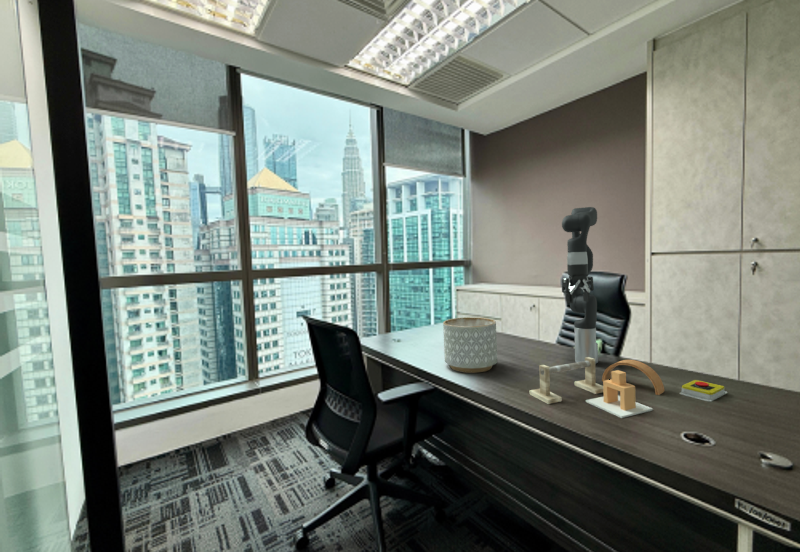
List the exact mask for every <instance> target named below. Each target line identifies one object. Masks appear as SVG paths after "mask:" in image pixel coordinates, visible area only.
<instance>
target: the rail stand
mask: <svg viewBox="0 0 800 552" xmlns="http://www.w3.org/2000/svg"><path fill="white" fill-rule="evenodd" d="M538 367H539V368H538V369H539V388H536V389H531V390H530V389H529V395H530V396H532V397H534V398H536V399H538V400H539V401H542V402H543V403H546V404H547V405H551V404H555V403H559V402H562V398H563V397H562V396H560V395H558V394H556V393H553V392H552V391H551V381H550V378H551V376H550V375H551V374H556V373H557V374H558V373H563V372H567V371H572V370H579V369H584V372H585V373H584V378H585V379H581V380H575V381H574V386H575V387H577V388H579V389H583V390H585V391H587V392H590V393H591V394H594V395H595V394H596V395H597V394H602V393H603V385H602V384H599V383H596V381H597V380H596V379H597V378H596V364H595V359H594V358H590V357H586V358H585V361H582V362H571V363H565V364H559V365H553V366H549V365H545V364H541V365H540V364H539V365H538Z"/></svg>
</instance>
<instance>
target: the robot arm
mask: <svg viewBox="0 0 800 552" xmlns="http://www.w3.org/2000/svg"><path fill="white" fill-rule="evenodd" d="M597 222H598V211H597V209H596V208H595V207H594V206H588V207H587V206H586V207H575V208H573V209H572V210H571V214H569V215H566V216H564V217H563V219H562V222H561V227H562V230H563V231H564V232H566V233H571V238H569V239H567V244H566V245H567V246H566V247H567V256H566V259H567V264H566V265H567V266H566V267H567V270H566V272H567V275H568V278H567V277H564V278H562V279H561V282H562V283H561V285H562V286H561V293H564V294H566V302H567V304H569V306H570V307H569V308H570V310H571V312H573V313H576V314H584V318H582V319H581V318H580V319H577V320H575V321H574V323H573V327H574V328H573V329H574V360H575V362H574V363H576V362H582V361H585V358H586V357H590V358H594V359H595V365H596V364H597V363H599V344H598V342H597V320H598V319H597V313H598V302H597V297H596V296H595V295H593V294H590V293H591V292H592V291H594V289H595V288H594V277H593V276H589V275H590V273H591V271H592V270H593V267H594V254H593V250H592V249H591V248H590V247H589V245H588V242H587V241H588V236H589V231H590V228H591V227H593V226H595V225H596V224H597ZM582 292H583V293H582Z"/></svg>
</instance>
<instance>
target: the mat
mask: <svg viewBox="0 0 800 552" xmlns="http://www.w3.org/2000/svg"><path fill="white" fill-rule="evenodd" d="M585 403H587V404H590V405H591V406H593V407H596V408H598V409H600V410H603V411H604V412H607V413H609V414H611V415H614V416H616V417H618V418H620V419H624V418H628V417H631V416H635V415H639V414H643V413H647V412H651V411H654V409H653V407H650V406H647V405H645V404H641V403H639V402H636V408H633V409H629V410H625V411H624V410H622V409H620V394H618V401H615V402H611V403H605V402H604V396H600V397H595V398H589V399H586V400H585Z"/></svg>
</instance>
